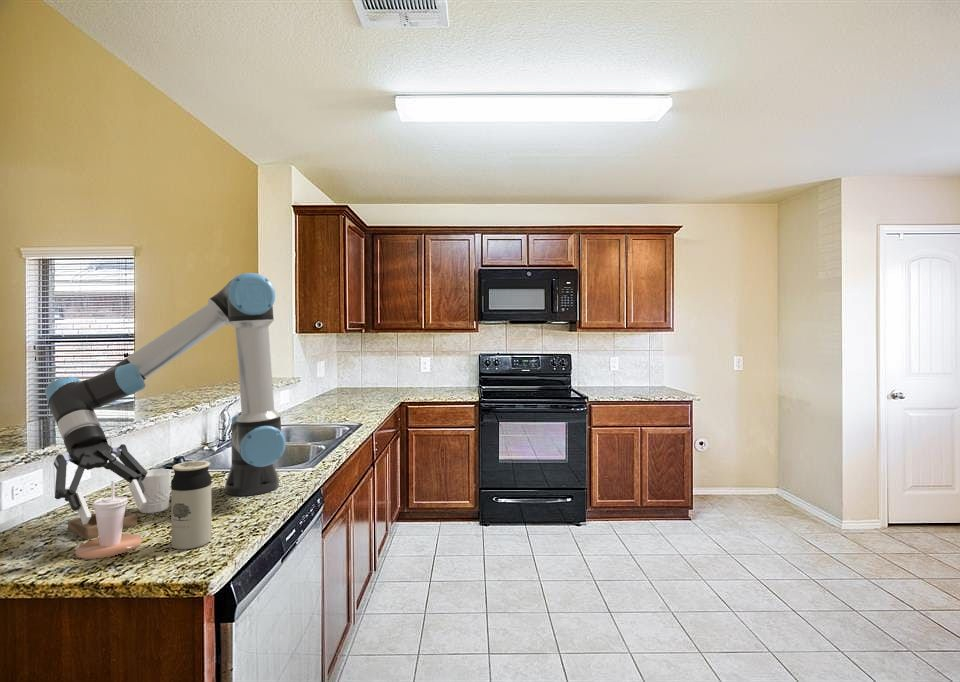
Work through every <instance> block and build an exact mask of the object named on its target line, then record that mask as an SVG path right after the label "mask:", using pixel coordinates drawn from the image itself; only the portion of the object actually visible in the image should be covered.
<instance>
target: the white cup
mask: <svg viewBox="0 0 960 682" xmlns="http://www.w3.org/2000/svg"><path fill="white" fill-rule="evenodd" d="M146 471H147V472H148V473H147V475H146V477H145V478H144V480H143V481H142V484H143V486H144V488H145V491H144V493H143V495H144V497H145V499H146V501H147V502H146V504H145V506H144V507H143V509H140V510H139V513H141V514H155V513H159V512H163V511H166V510H168V509H169V508H170V507H169V506H170V497H171V481H172V477H171V476H172V470H171V469H169V468H168V469H167V468H158V469H156V468H155V469H149V470H146Z"/></svg>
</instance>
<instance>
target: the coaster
mask: <svg viewBox="0 0 960 682" xmlns="http://www.w3.org/2000/svg"><path fill="white" fill-rule="evenodd" d="M142 543H143V537H142V536H141V535H138V534H135V533H122V535H121V541H120V543H119V544H117V545H114V546H110V547H101V546H100V541H99V537H96V538H93V539H90V540H88V541H87V542H84V543H83V544H81V545H79V546H78V547H76V549H75V557H76V558H78V559H80V558H82V559H81V560H97V559H96V558H102V559H105V558H104V557H108V558H112V557H111V556H113V557H116V556H115V555H117V556H119V555H118V554H121V555H123V554H122V553H124V554H126V553H125V552H127V553H129V552H132V551H134V550H136V549H137V548H139V547H140V546H141V545H142ZM135 548H136V549H135ZM133 549H134V550H133ZM131 550H132V551H131ZM128 551H129V552H128Z"/></svg>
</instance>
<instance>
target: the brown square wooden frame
mask: <svg viewBox="0 0 960 682" xmlns="http://www.w3.org/2000/svg"><path fill="white" fill-rule="evenodd" d="M137 526H138V515H136V514H133V513H131V512H128V511H126V510H125V515H124V521H123V528H122V529H123V530H126V528H127V529H130V528H133V527H137ZM67 527H68V528H67V529H68V530H67V531H68V532H70V533H72V534H75V535H77V536H80V537H82V538H84V539H86V540H88V539H89V540H93V539H96V538H99V537H98V536H99V535H98V528H97V521H96V514H95V513H91V518H90V520H89V521H88V523H87V524H84V525H83V523H82V521H81V518H80V517H76V518H72V519H68V520H67ZM129 527H130V528H129ZM95 537H96V538H95Z"/></svg>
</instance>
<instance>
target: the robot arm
mask: <svg viewBox="0 0 960 682" xmlns="http://www.w3.org/2000/svg"><path fill="white" fill-rule="evenodd" d="M275 299H276V290H275V288H274V285H273V284H272V282H271V281H270V280H269V279H268V278H267V277H265V276H264V275H262V274H259V273H256V272H245V273H244V272H243V273H240V274H238V275H236V276H234V277H233V278H232V279H230V281H229V282H227V284H226V285H224V286H223V288H222V289H220V291H218V292H217V293H216V294H214V295H213V296H212V297H210V298H209V299H208V301H207V304H205V306H203V307H201V308H200V309H198V310H197V311H195V312H193V313H192V314H190V315H189V316H188V317H186V318H185V319H183V320H182V321H180V322H179V323H177V324H176V325H174V326H172V327H171V328H169V329H168V330H166V331H165V332H163V333H162V334H161V335H159V336H157V337H156V338H154V339H153V340H151V341H150V342H148V343H147V344H145V345H143V346H142V347H140V348H139V349H138V350H136V351H135V352H133V353H131V354H130V355H128V356H127V357H126V358H124V359H122V360H121V361H120V362H117V363H116V364H115V365H113V366H111V367H109V368H108V369H106V370H105V371H104V372H102V373H100V374H97V375H94V376H93V377H90V378H88V379H84V380H83V379H82V380H80V379H79V378H77V377H75V376H67V377H65V378H64V377H60V378H57V379H55V380H53V381H51V382H49V384H48V385H47V386H46V387H45V390H44V393H45V397H46V400H47V405H48V406H47V407H49V409H50V412H51V414H52V417H53V419H54V421H55V423H56V426H57V429H58V432H59V434H60V436H61V439H62V440H63V444H64V446H65V448H66V452H67V454H66V455H63V454H61V453H59V454H57V455H56V457H55V459H54V461H53V466H54V468H55V470H56V471H55V472H56V474H55V484H54V485H55V487H54V498H55V499H56V500H60V499H64V501H65V502H68V503H69V506H70V509H71V510H72V511H77V513H78V515H79V518H81V521H82V523H83V525H84V524H87V523H88V521H89V520H90V518H91V515H92V513H91V512H90V509H89V507H88V504H87V502H86V499H85V497H84V495H83V492H82V491H81V490H80V491H78V487H79V484H80V482H81V479H82V477H83V475H84V472H85V470H87V471H90V470H92V469H98V468H99V469H100V468H104V469H105V470H109V471H110V472H113V473H114V474H116V475H117V476H118V477H120V478H122V479H123V480H125V481H126V482H128V483H129V485H128V488H129V491H130V493H131V495H132V497H133V499H134V503H135V504H136V506H137V509H138V510H139V511H140V509H143V507H144V506H145V504H146V502H147V501H146V499H145V497H144V495H143V493H144V491H145V488H144V486H143V484H142V481H143V480H144V478H145V477H146V475H147V473H148V472H147V471H148V470H146V469H145V468H144V466H142V464H141V463H139V461H138V460H137V458H135V457H134V456H133V454H131V453H130V452H129V450H128V448H127V446H126V444H124V443H123V444H122V443H121V444H119V446H116V447H112V446H111V445H110V444H109V443H108V439H107V436H106V435H105V432H104V430H103V428H102V426H101V423H100V421H99V419H98V417H97V415H96V412H95V410H97V409H98V408H102V407H104V406H106V405H108V404H111V403H113V402H117V401H118V400H121V399H123V398H127V397H129V396H132V395H134V394H136V393H138V392H140V391H142V390H144V389H145V388H146V383H145V380H146V379H148V378H150V377H151V376H152V375H154V374H155V373H157V372H158V371H160V370H161V369H162V368H164V367H165V366H167V365H168V364H170V363H171V362H173V361H175V360H176V359H177V358H179V357H180V356H182V355H183V354H185V353H186V352H188V351H190V350H191V349H192V348H193V347H195V346H196V345H198V344H199V343H201V342H203V341H204V340H206V338H208V337H210V336H211V335H212V334H214V333H215V332H217V331H218V330H220V329H221V328H223V327H224V326H232V327H234V329H235V340H236V341H235V343H236V353H237V354H236V355H237V367H238V382H239V395H240V408H241V410H240V411H241V413H240V415H234V416H232V418H231V424H230V428H231V466H230V469H229V472H228V475H227V477H226V481H225V483H224V484H225V486H224V493H226V494H228V495H231V496H241V497H242V496H255V495H260V494H265V493H268V492H270V493H271V492H272V491H274V490H276V489H278V488H279V486H280V485H279V476H278V474H277V471H276V467H275V464H274V463H276V462H277V461H278V460H279V459H280V458H281V457H282V456H283V454H284V452H285V451H286V445H287V444H286V438H285V435H284V433H283V432H282V421H281V420H282V419H281V414H280V413H279V412H278V411H276V410H275V405H274V404H275V400H274V387H273V374H272V372H273V371H272V361H271V357H272V356H271V346H270V345H271V344H270V332H269V331H270V330H269V326H270V325H271V324H272V323H273V322H274V303H275ZM112 454H114V455H115V456H114V455H112ZM117 458H118V459H119V460H120V461H119V460H118V459H117ZM69 462H70V463H73V464H74V465H76V466H77V467H76V471H75V473H74V475H73V478H72V481H71V483H70V485H69V487H68V488H67V489H66V485H67V482H66V480H67V465H68V464H69Z"/></svg>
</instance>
